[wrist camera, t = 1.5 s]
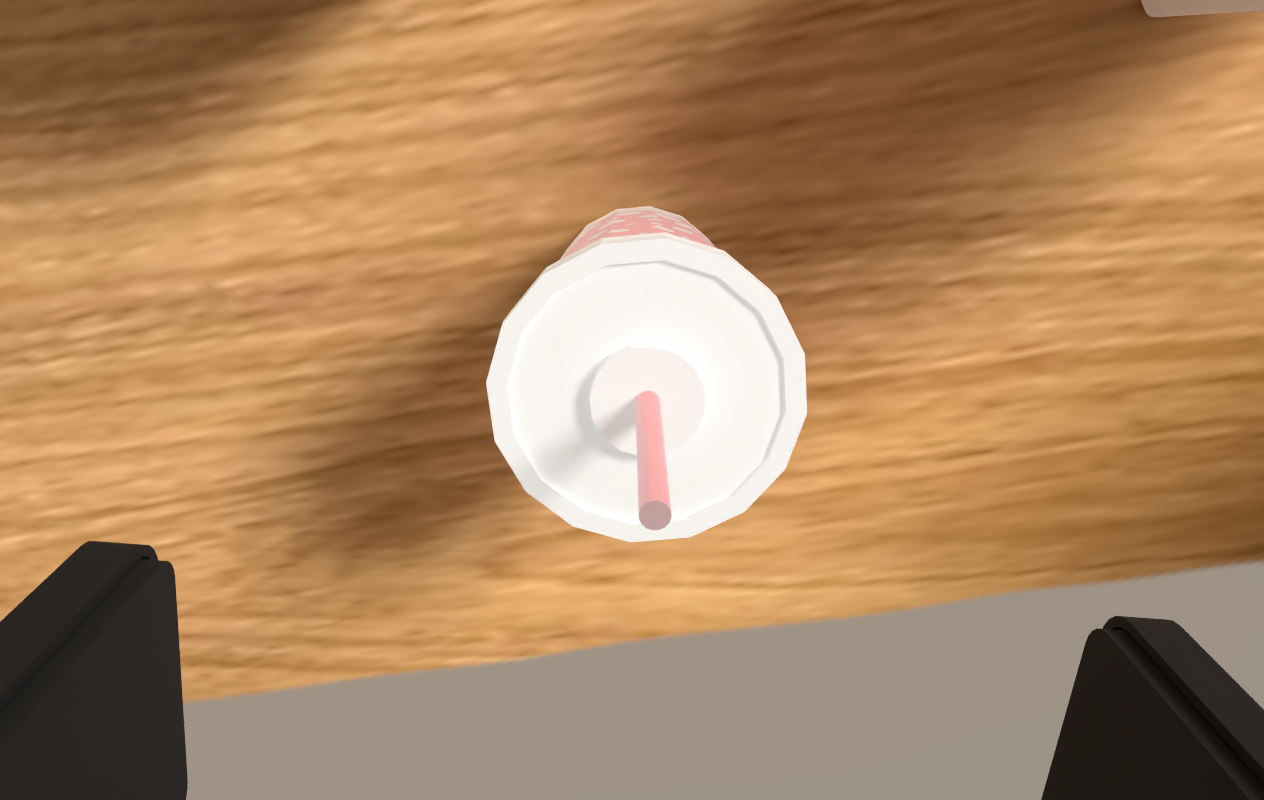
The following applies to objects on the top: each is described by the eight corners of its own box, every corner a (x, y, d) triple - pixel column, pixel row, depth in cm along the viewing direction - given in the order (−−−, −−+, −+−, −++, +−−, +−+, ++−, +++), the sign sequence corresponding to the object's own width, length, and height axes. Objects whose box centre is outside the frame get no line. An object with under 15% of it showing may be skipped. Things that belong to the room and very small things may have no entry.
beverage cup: (735, 405, 29) (831, 713, 15) (521, 384, 28) (431, 679, 15) (768, 189, 27) (909, 330, 13) (537, 164, 26) (448, 283, 13)
